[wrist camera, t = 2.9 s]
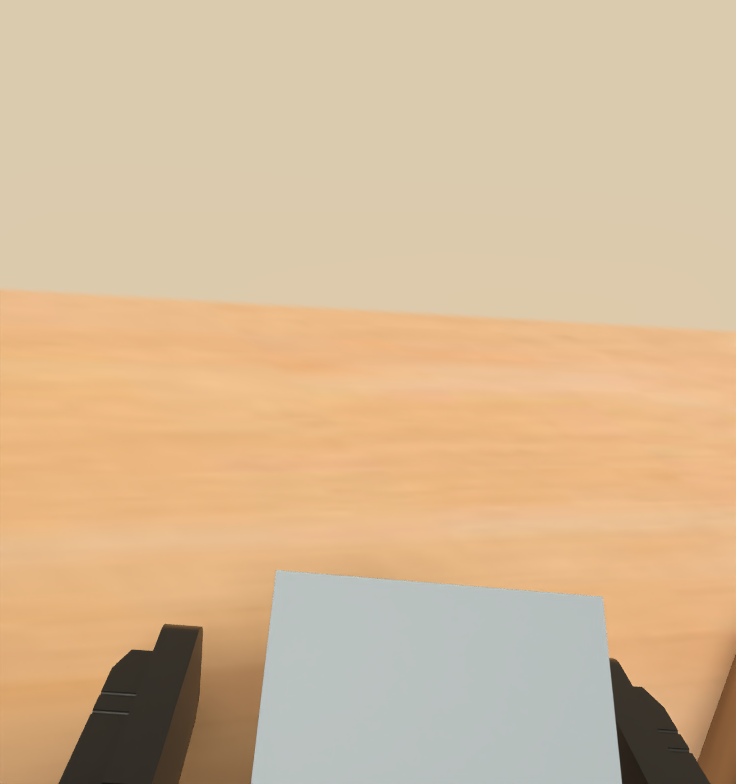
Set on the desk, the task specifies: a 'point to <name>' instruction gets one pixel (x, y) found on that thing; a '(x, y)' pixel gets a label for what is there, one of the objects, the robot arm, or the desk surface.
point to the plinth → (722, 737)
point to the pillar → (433, 685)
